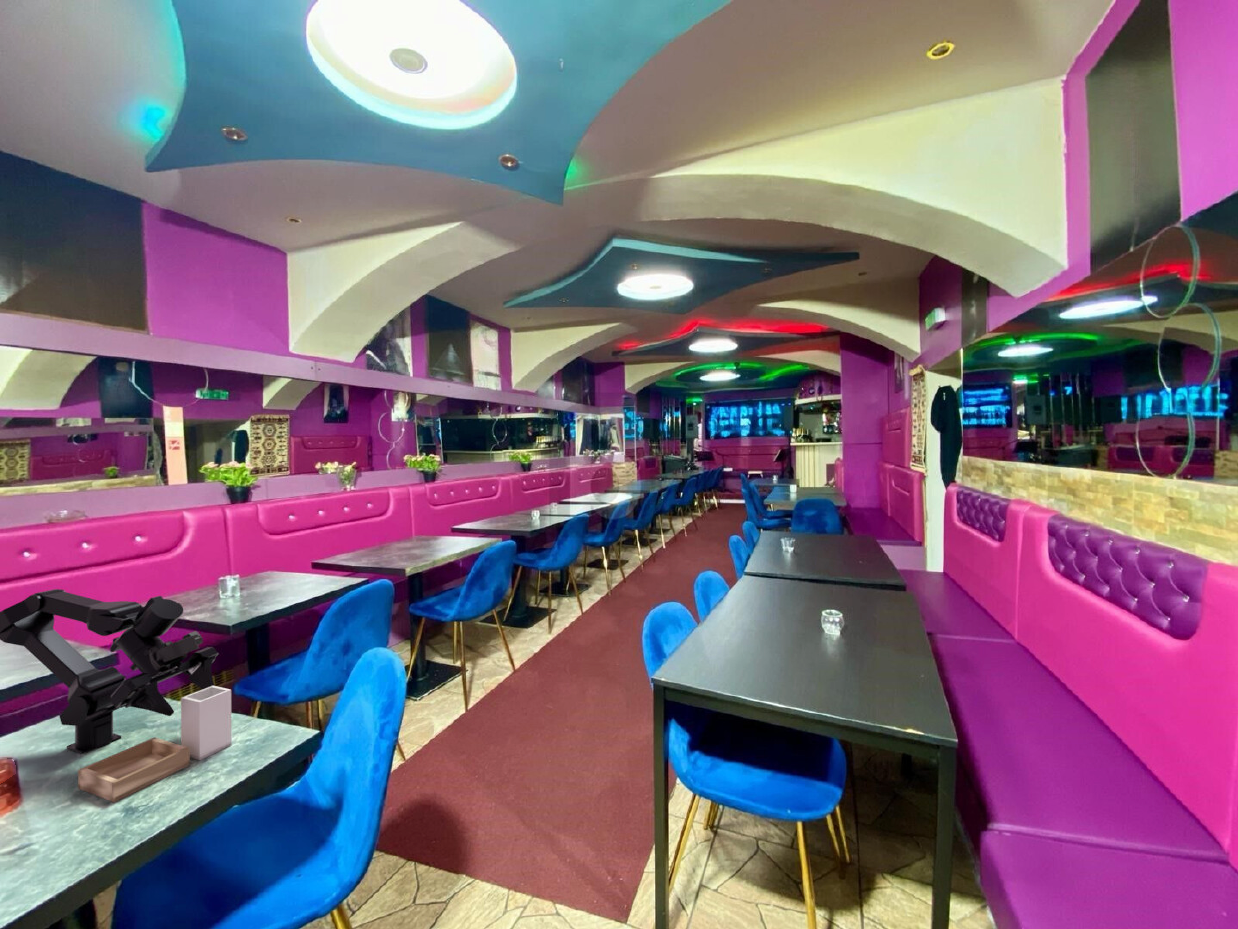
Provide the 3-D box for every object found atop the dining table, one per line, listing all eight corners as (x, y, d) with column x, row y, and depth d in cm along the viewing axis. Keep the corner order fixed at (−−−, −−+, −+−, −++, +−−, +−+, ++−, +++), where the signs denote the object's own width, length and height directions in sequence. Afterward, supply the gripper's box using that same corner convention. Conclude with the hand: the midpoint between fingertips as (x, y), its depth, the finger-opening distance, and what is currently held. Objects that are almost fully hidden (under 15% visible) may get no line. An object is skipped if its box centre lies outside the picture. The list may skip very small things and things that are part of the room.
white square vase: (181, 755, 102) (181, 697, 102) (213, 739, 108) (213, 685, 108) (199, 760, 100) (199, 702, 100) (231, 744, 106) (231, 689, 106)
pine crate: (78, 788, 92) (78, 769, 92) (154, 754, 103) (154, 737, 103) (114, 802, 88) (114, 783, 88) (189, 765, 99) (189, 748, 99)
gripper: (122, 640, 96) (173, 698, 95) (211, 612, 114) (254, 660, 113) (87, 679, 97) (137, 737, 96) (181, 644, 115) (224, 693, 114)
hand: (193, 703), depth 105 cm, fingers open, 9 cm apart
